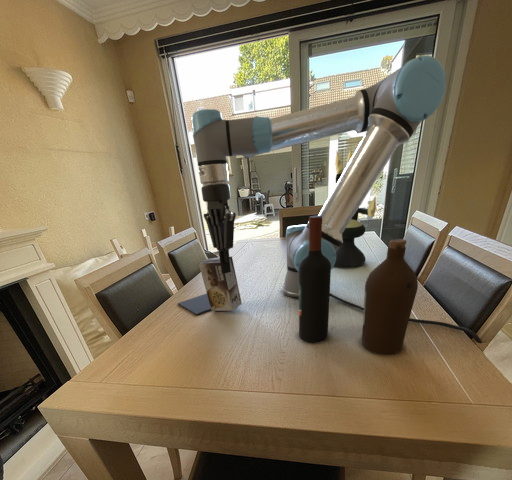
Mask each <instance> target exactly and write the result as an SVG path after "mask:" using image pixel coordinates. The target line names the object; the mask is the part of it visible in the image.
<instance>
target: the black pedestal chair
mask: <svg viewBox="0 0 512 480" xmlns="http://www.w3.org/2000/svg"><path fill="white" fill-rule="evenodd" d="M352 157H353V151H352V148H350V150H349V152H348V154H347V159H346V166H347V165H348V163H349V162H350V160H351V158H352ZM334 164H335V165H334V166H335V171H336V176H335V185H336V184H337V182H338V181H339V179H340V177H341V175H342V174H343V172H344V170H343V163H342V159H341V157H340V155H339V151H336V155H335V163H334ZM376 197H377V196H374V197H373V198H372V200H371V201H370V202H369V204H368V207H359V208H358V209H357V211H356V213H355V214H354V216H353V217H352V219H351V220H350V222H349V224H348V225H347V227H346V228H345V230H344V231H343V233H342V239H343V243H342V244H341V246H340V247H339V249H338V251H337V252H336V262H335V264H334V266H333V268H334V267H335V268H341V269H342V268H343V269H346V268H347V269H348V268H351V269H352V268H356V267H360V266H363V265H364V263H366V255H365V254H364V253H363V251H362V250H361V249H359V248H358V246H357V245H356V244H355V243H356V242H355V239H357V238H360V237H362V236H364V234H365V232H366V227H365V226H364V224H362V223H361V222H360V221H359V214H361V215H365V216H368V217H371V218H374V217H375V215H376V210H377V199H376Z"/></svg>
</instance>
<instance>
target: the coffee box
mask: <svg viewBox="0 0 512 480" xmlns="http://www.w3.org/2000/svg"><path fill="white" fill-rule="evenodd" d="M229 257H230V269H231V272H229V273H225V274H222V270H221V263H220V257H209V258H207V259H205V260H203V261H202V262H200V263H198V267H199V270H200V273H201V279H202V281H203V285H204V288H205V292H206V294H207V296H208V300H209V303H210V307H211V310H210V311H214V312H215V311H217V312H218V311H220V312H234V311H236V310H237V309H238V308H239V307H240V306H241V305H242V304H243V303H242V298H241V293H240V288H239V284H238V278H237V274H236V270H235V265H234V260H233V256H231V255H230V256H229Z"/></svg>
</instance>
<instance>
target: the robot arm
mask: <svg viewBox="0 0 512 480" xmlns="http://www.w3.org/2000/svg"><path fill="white" fill-rule="evenodd" d="M446 76H447V75H446V70H445V68H444V66H443V65H442V63H441V62H440V60H439V59H437V58H436V57H434V56H431V55H421V56H418V57H415V58H411V59H410V60H408V61H406V62H405V63H404V64H403V65H402V66H401V67H400V68H398V69H396V70H395V71H393V72H392V73H390V74H389V75H386V77H384V78H383V79H381V80H379V81H378V82H376V83H374V84H372V85H371V86H368V87H366V88H362V89H359V90H356V91H355V93H354V94H353V96H351V97H347V98H344V99H340V100H336V101H333V102H329V103H324V104H320V105H317V106H314V107H310V108H309V107H308V108H306V109H303V110H299V111H295V112H291V113H287V114H284V115H280V116H276V117H272V118H270V117H269V116H253V117H244V118H235V119H223V116H222V112H221V111H220V110H218V109H215V108H212V109H210V108H206V109H200V110H197V111H195V112H193V114H192V115H191V126H192V138H193V144H194V149H195V156H196V163H197V167H198V176H199V182H200V185H202V186H201V187H200V188H201V189H200V190H201V196H202V201H203V202H207V206H206V207H207V208H206V209H207V212H206V213H203V218H204V220H205V222H206V226H207V229H208V233H209V236H210V239H211V244H212V247H213V248H214V249H216V250H217V251H218V256H219V257H220V263H221V270H222V274H225V273H229V272H231V269H230V257H231V256H230V249H233V248H234V240H235V239H234V238H235V236H234V235H235V221H236V216H237V214H236V212H235V211H233V212H232V211H231V209H230V204H229V202H228V201H229V200H230V199H231V197H232V196H231V188H230V185H229V183H228V182H229V181H230V179H229V168H228V161H227V157H238V156H242V157H244V158H247V159H249V158H253V157H256V156H259V155H263V154H268V153H270V152H274V151H277V150H278V151H279V150H281V149H285V148H290V147H293V146H298V145H301V144H304V143H305V144H306V143H308V142H309V143H310V142H312V141H317V140H321V139H325V138H329V137H333V136H337V135H341V134H344V133H349V132H352V131H353V132H355V134H362V133H365V132H366V133H365V134H364V136H363V138H362V140H361V141H360V142H359V144H358V146H357V148H356V150H355V151H354V153H353V154H352V158H351V160H350V162H349V163H348V165H347V164H346V167H345V168H344V170H343V174H342V175H341V177H340V179H339V181H338V182H337V184H336V183H335V186H334V187H333V189H332V191H331V192H330V195H329V196H328V198H327V200H326V201H325V203H324V205H323V206H322V208H321V210H320V212H319V214H318V215H317V216H322V236H321V252H322V254H323V255H324V256H325V257H326V258H327V259H328V260H329V262H330V263H331V270H333V268H334V264H335V262H336V252H337V251H338V249H339V247H340V246H341V244H342V243H343V239H342V233H343V231H344V230H345V228H346V227H347V225H348V224H349V222H350V220H351V219H352V217H353V216H354V214H355V213H356V211H357V209H358V208H360V206H361V205H362V203H363V202H364V201H365V199H366V197H367V195H368V194H369V192H370V190H371V189H372V188H373V186H374V184H375V182H376V181H377V180H378V178H379V177H380V175H381V173H382V172H383V170H384V169H385V167H386V166H387V164H388V163H389V161H390V159H391V158H392V157H393V154H394V153H395V151H396V150H397V148H398V146H401V145H403V144H405V143H408V142H409V141H410V140H411V138H412V136H413V134H414V133H415V132H416V130H417V129H418V127H419V126H420V124H421V123H422V122H423V121H425V120H427V119H429V117H431V116H432V115H433V114H435V113H436V111H437V110H438V108H439V107H440V106H441V104H442V102H443V99H444V97H445V94H446V89H447V83H446V82H447V77H446ZM285 240H286V241H285V242H286V243H285V244H286V274H285V277H284V282H283V284H282V293H283V294H284V295H286V296H287V297H291V298H297V299H299V264H300V262H301V261H302V259H303V258H305V257H306V256H307V255H308V252H309V221H308V222H307V224H298V225H290V226H287V228H286V230H285ZM330 297H331V298H333V299H334V300H336V301H339V302H341V303H343V304H346V305H348V306H350V307H353V308H356V309H359V310H361V311H363V312H364V306H361V305H358V304H356V303H353V302H350V301H348V300H345V299H343V298H341V297H339V296H336V295H334V294H332V293H331V292H330ZM408 323H417V324H425V325H435V326H441V327H446V328H449V329H453V330H458V331H461V332H465V333H467V334H469V335H470V336H471V337H472V338H473V340H474V341H476V343H477V344H483V341H482V339H481V338H480V336H478V335H477V333H475V331H473V330H471V328H470V329H469V328H467V327H464V326H460V325H456V324H451V323H447V322H445V321H444V322H443V321H437V320H430V319H429V320H426V319H418V318H411V317H410V318H409V322H408Z"/></svg>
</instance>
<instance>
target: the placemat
mask: <svg viewBox="0 0 512 480" xmlns="http://www.w3.org/2000/svg"><path fill="white" fill-rule="evenodd" d="M177 304H178V306H180V307H182V308H183V309H185V310H187V311H188V312H190V313H191V314H193V315H195V316H199V315H201V314H204V313H207V312H209V311H210V312H211V311H212V310H211V307H210V303H209V300H208V296H207V293H204V294H200V295H198V296H195V297H192V298H189V299H186V300H184V301H179V302H177Z"/></svg>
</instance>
